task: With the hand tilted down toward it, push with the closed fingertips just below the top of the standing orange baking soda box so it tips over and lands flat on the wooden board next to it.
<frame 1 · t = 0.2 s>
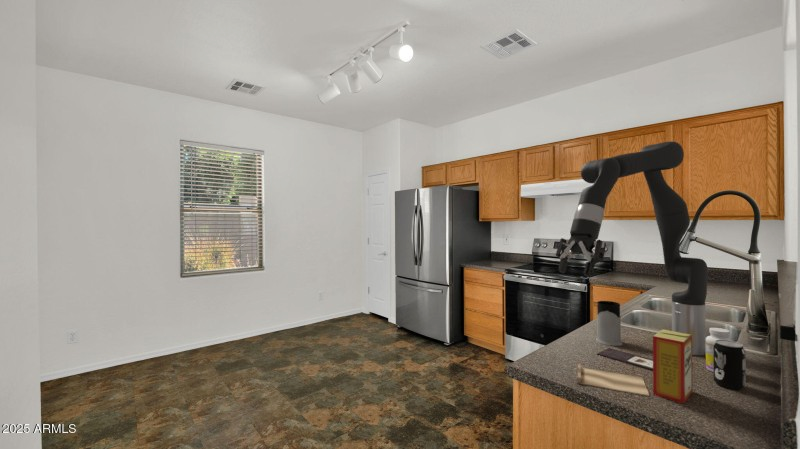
hand: (573, 273, 103), 31 cm above the countertop, tool tilted 20°, fingers open, 8 cm apart
baking soda box: (673, 393, 95), on the countertop
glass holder: (609, 340, 138), on the countertop
wooden board: (610, 380, 103), on the countertop
beverage can: (729, 386, 99), on the countertop
chocolate bar: (631, 361, 118), on the countertop
supplement bottle: (720, 372, 108), on the countertop
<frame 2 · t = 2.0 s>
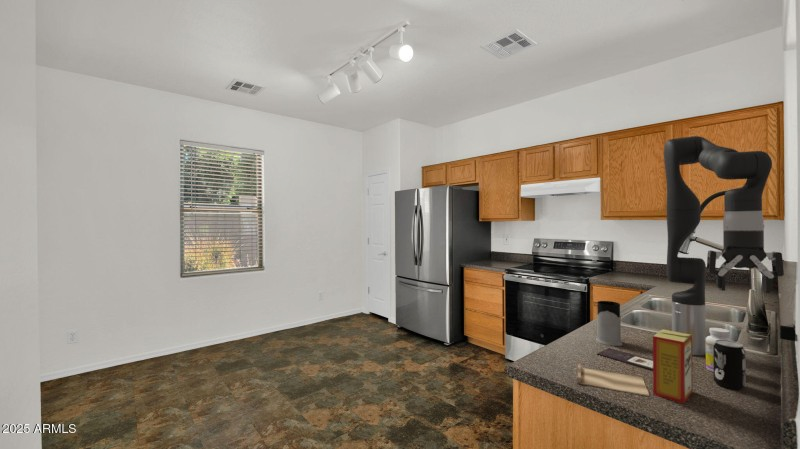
hand: (743, 291, 91), 28 cm above the countertop, tool pointing down, fingers open, 8 cm apart
nothing on the countertop moved.
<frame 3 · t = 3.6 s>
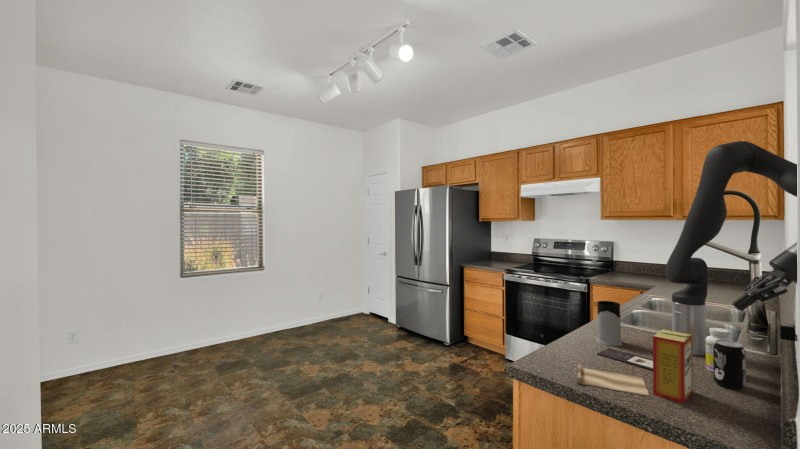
hand: (736, 307, 89), 24 cm above the countertop, tool tilted 45°, fingers closed
nothing on the countertop moved.
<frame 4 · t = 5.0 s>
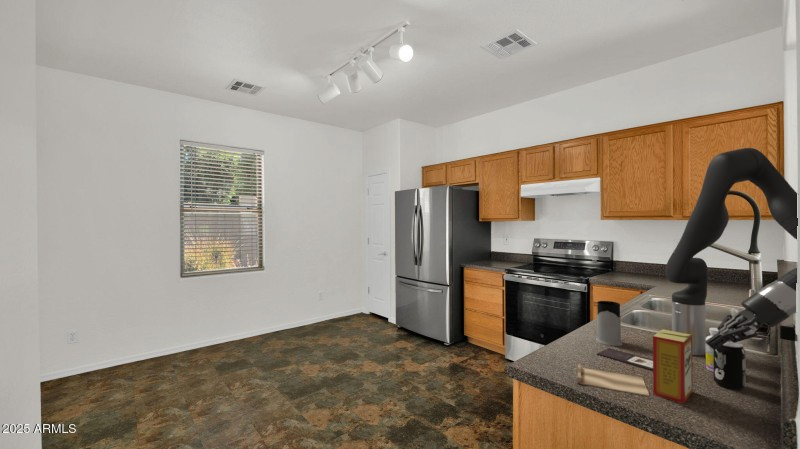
hand: (709, 345, 92), 14 cm above the countertop, tool tilted 45°, fingers closed
nothing on the countertop moved.
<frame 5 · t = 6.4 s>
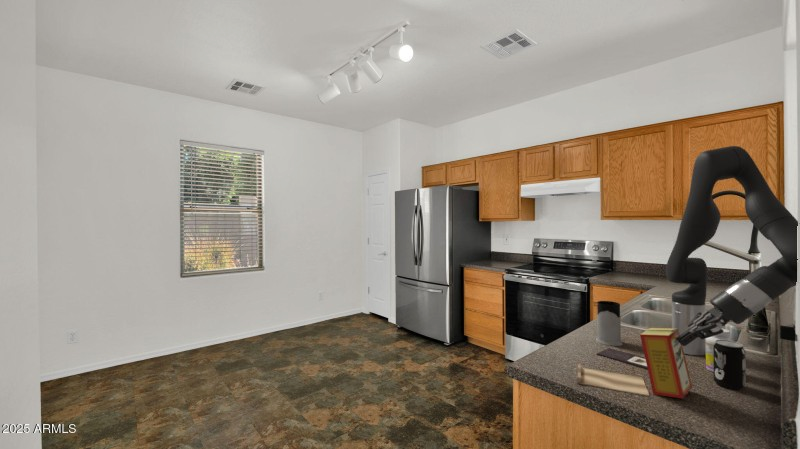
hand: (679, 342, 94), 14 cm above the countertop, tool tilted 45°, fingers closed
baking soda box: (672, 391, 95), on the countertop, touching gripper
everything else where it was.
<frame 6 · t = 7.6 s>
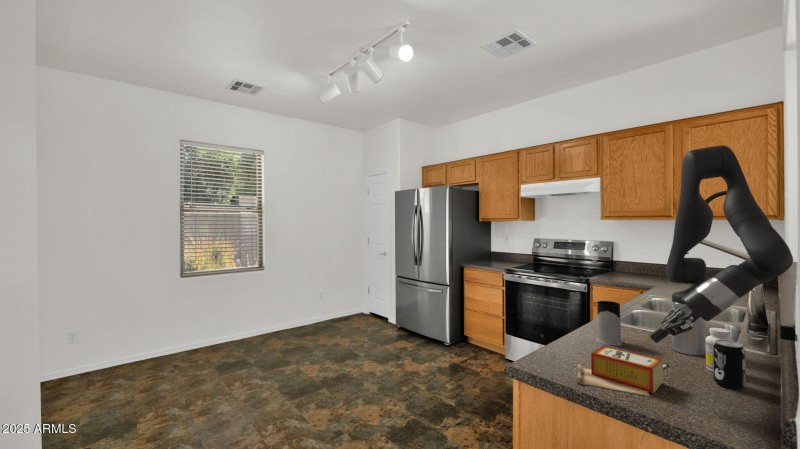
hand: (652, 339, 97), 14 cm above the countertop, tool tilted 45°, fingers closed
baking soda box: (659, 376, 97), point 4 cm above the countertop, touching wooden board
everything else where it was.
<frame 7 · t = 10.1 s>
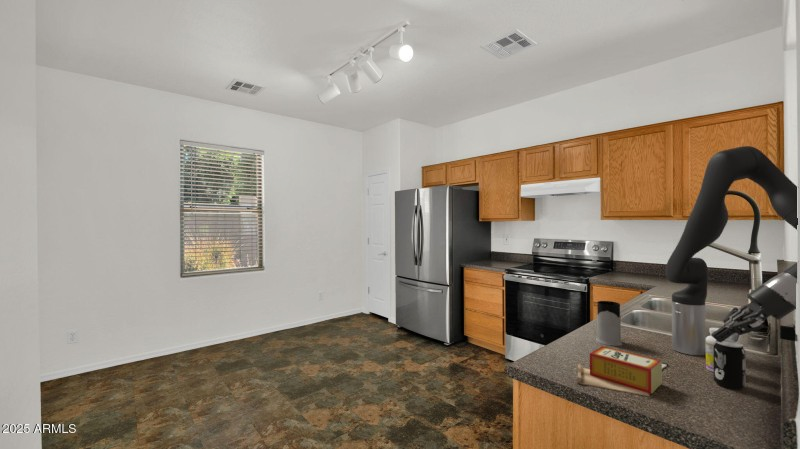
hand: (715, 338, 91), 16 cm above the countertop, tool tilted 45°, fingers closed
nothing on the countertop moved.
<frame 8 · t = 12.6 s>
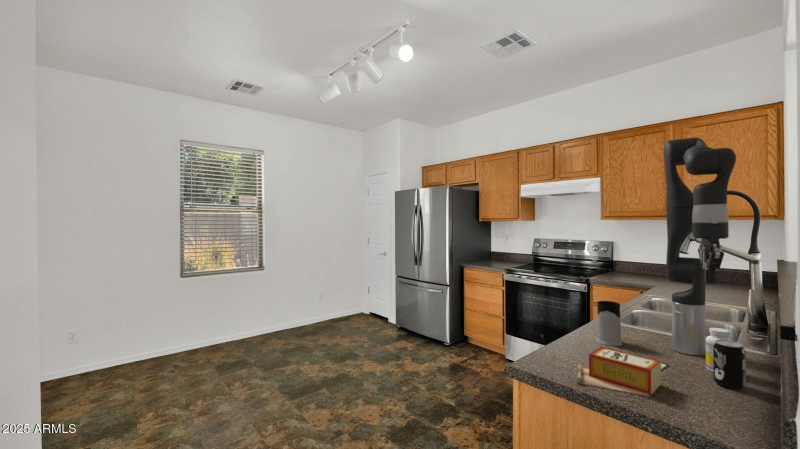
hand: (710, 283, 98), 29 cm above the countertop, tool pointing down, fingers closed
at the end: baking soda box tilted 90°; baking soda box inside the target area (10.0 cm from its centre), point 3.5 cm above the countertop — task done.
